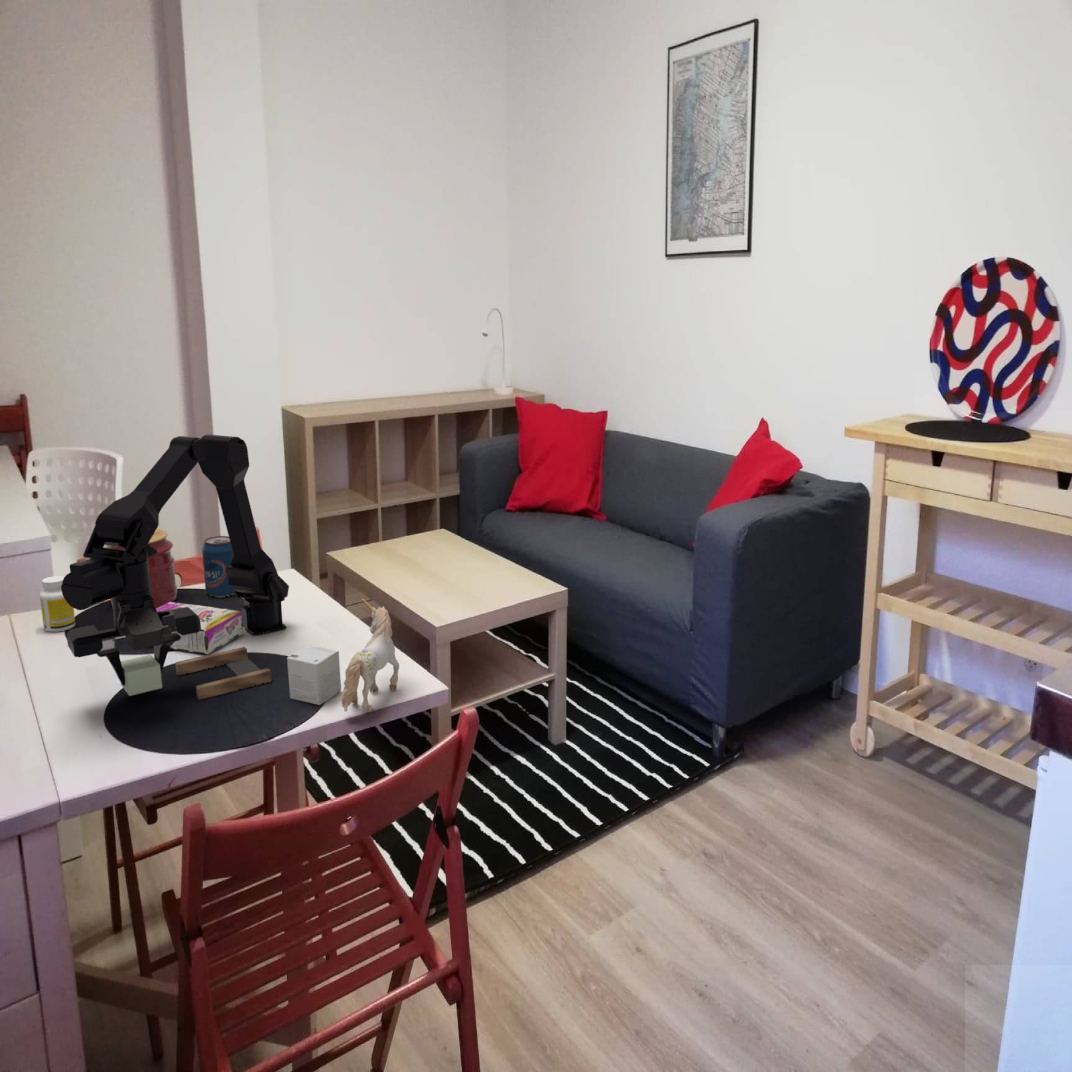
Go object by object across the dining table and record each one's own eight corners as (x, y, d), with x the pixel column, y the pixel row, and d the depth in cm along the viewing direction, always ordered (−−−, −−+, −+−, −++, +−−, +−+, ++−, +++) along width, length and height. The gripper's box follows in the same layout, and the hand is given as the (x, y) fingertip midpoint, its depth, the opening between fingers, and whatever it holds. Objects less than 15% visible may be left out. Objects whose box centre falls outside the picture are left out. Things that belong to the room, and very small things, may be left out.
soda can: (199, 597, 189) (194, 543, 185) (216, 586, 195) (211, 534, 192) (230, 599, 188) (225, 545, 184) (245, 589, 194) (241, 536, 191)
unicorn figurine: (405, 671, 155) (404, 599, 152) (386, 724, 137) (384, 643, 133) (364, 670, 155) (361, 598, 152) (340, 723, 137) (336, 642, 133)
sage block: (153, 676, 147) (150, 654, 145) (162, 687, 143) (159, 664, 142) (121, 684, 144) (118, 661, 142) (129, 695, 140) (126, 672, 139)
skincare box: (342, 691, 147) (340, 650, 145) (319, 706, 142) (316, 664, 140) (312, 684, 150) (309, 643, 148) (288, 698, 144) (285, 656, 142)
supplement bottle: (82, 624, 173) (76, 576, 170) (59, 634, 168) (52, 585, 165) (60, 620, 175) (54, 573, 172) (37, 630, 170) (30, 581, 167)
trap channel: (245, 657, 160) (244, 646, 159) (271, 681, 150) (270, 670, 150) (176, 673, 153) (175, 662, 152) (199, 699, 143) (198, 688, 143)
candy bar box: (169, 599, 173) (243, 609, 169) (171, 623, 174) (244, 634, 170) (128, 618, 163) (206, 630, 158) (131, 643, 164) (208, 656, 160)
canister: (95, 606, 182) (85, 523, 177) (144, 587, 194) (135, 509, 189) (145, 616, 178) (135, 531, 173) (191, 596, 189) (184, 516, 184)
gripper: (75, 616, 127) (88, 715, 131) (208, 591, 138) (216, 683, 142) (60, 594, 135) (73, 688, 140) (186, 572, 146) (194, 660, 151)
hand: (141, 680), depth 143 cm, fingers closed on sage block, 5 cm apart
